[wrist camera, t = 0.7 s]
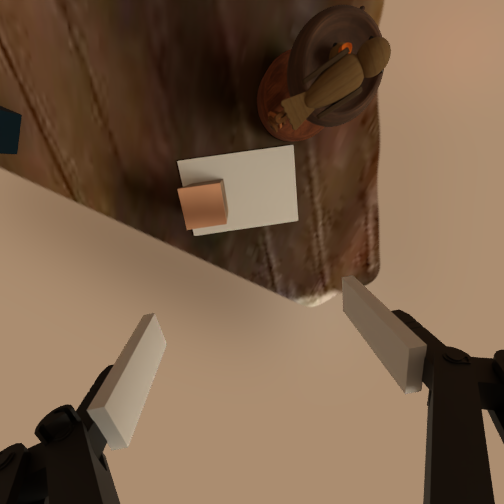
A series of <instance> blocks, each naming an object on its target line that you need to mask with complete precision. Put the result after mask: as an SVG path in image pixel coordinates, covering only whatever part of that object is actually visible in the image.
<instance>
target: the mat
mask: <svg viewBox="0 0 504 504" xmlns="http://www.w3.org/2000/svg"><path fill="white" fill-rule="evenodd" d="M177 163H178V168H179V172H180V176H181V181H182V185H183V187H184V186H186V185H189V184H191V183H198V182H205V181H212V180H219V179H223V180H224V186H225V192H226V198H227V204H228V210H229V211H228V218H227V224H224V225H217V226H210V227H204V228H197V229H193V233H194V236H197V235H204V234H211V233H218V232H225V231H231V230H238V229H245V228H252V227H259V226H265V225H272V224H279V223H286V222H293V221H298V210H297V194H296V179H295V163H294V147H293V145H288V146H281V147H274V148H267V149H259V150H252V151H245V152H238V153H231V154H224V155H217V156H209V157H202V158H195V159H188V160H181V161H177Z"/></svg>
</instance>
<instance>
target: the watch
mask: <svg viewBox="0 0 504 504" xmlns="http://www.w3.org/2000/svg"><path fill="white" fill-rule="evenodd" d="M21 116H22V115H20V114H18V113H16V112H13V111H11V110H9V109H6V108H4V107H2V106H0V153H4V154H17V150H18V141H19V133H20V124H21Z"/></svg>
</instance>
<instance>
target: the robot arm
mask: <svg viewBox="0 0 504 504" xmlns="http://www.w3.org/2000/svg"><path fill="white" fill-rule="evenodd" d="M342 292H343V311H344V312H345V314H346V315H347V316H348V318H349V319H350V320H351V322H352V323H353V324H354V326H355V327H356V328H357V330H358V331H359V332H360V334H361V335H362V336H363V338H364V339H365V340H366V341H367V343H368V345H369V346H370V347H371V349H372V350H373V351H374V353H375V354H376V355H377V357H378V358H379V359H380V361H381V362H382V363H383V365H384V366H385V367H386V369H387V370H388V371H389V373H390V374H391V376H392V377H393V378H394V379H395V381H396V382H397V384H398V385H399V386H400V388H401V389H402V390H403V392H404V393H405V394H407V393H412V392H418V391H421V389H422V381H423V382H424V384H425V385H426V386H427V387H428V388H429V395H428V402H427V406H428V418H427V419H428V420H427V439H426V440H427V441H426V461H425V481H424V482H425V483H424V502H423V504H495V502H494V495H493V488H492V481H491V474H490V468H489V459H488V452H487V445H486V438H485V431H484V424H483V417H482V410H481V409H486V410H488V412H489V414H490V417H491V418H492V421H493V423H494V425H495V427H496V429H497V431H498V433H499V435H500V437H501V439H502V441H503V443H504V350H499V351H496V353H495V354H494V358H493V359H492V358H478V357H470V356H469V355H468V354H467V353H465V352H463V351H462V350H459V349H456V348H454V347H447V346H445V345H444V344H443V343H442V342H440V341H439V340H438V339H437V338H436V337H435V336H433V335H432V334H431V333H430V332H429V331H428V330H427V329H425V328H424V327H423V326H422V325H421V324H420V323H418V322H417V321H416V320H415V319H414V318H413V317H412V316H410V315H409V314H407V313H405V312H403V311H401V310H394V311H390V310H389V309H388V308H387V307H386V306H385V305H384V304H383V303H382V302H380V300H378V299H377V298H376V297H375V296H374V295H373V294H372V293H371V292H370V291H369V290H368V289H367V288H366V287H365V286H364V285H362V284H361V283H360V282H359V281H358V280H357V279H356V278H355V277H354V276H347V277H342ZM166 345H167V343H166V341H165V338H164V336H163V333H162V331H161V328H160V325H159V323H158V320H157V318H156V315H155V313H153V314H147V315H144V316H143V317H142V319H141V321H140V322H139V324H138V326H137V328H136V329H135V331H134V332H133V334H132V336H131V337H130V339H129V341H128V342H127V344H126V346H125V347H124V349H123V351H122V352H121V354H120V356H119V357H118V359H117V361H116V362H115V364H114V365H110V366H108V367H106V369H105V370H104V371H102V372H101V374H100V375H99V376H98V378H97V379H96V381H95V383H94V385H92V387H91V389H90V391H89V392H88V393H87V395H86V396H85V398H84V400H83V401H82V403H81V405H80V406H79V407H78V409H77V410H76V411H75V410H74V408H73V407H72V406H71V405H63V406H60V407H58V408H56V409H54V410H53V411H51V412H50V413H49V414H47V415H46V416H45V417H44V418H43V419H42V420H41V421H40V423H39V424H38V426H37V427H36V429H35V435H36V436H37V437H38V438H39V440H40V441H41V443H39V444H37V445H35V446H33V447H30V448H28V449H27V448H26V447H25V446H24V445H23V444H22V443H16V444H14V445H11V446H9V447H7V448H6V449H4V450H3V451H1V452H0V504H120V502H119V498H118V496H117V492H116V489H115V486H114V483H113V479H112V476H111V473H110V470H109V467H108V463H107V460H106V457H105V455H104V454H103V450H104V448H105V445H106V443H108V445H109V447H110V448H111V450H116V449H121V448H127V447H128V446H129V444H130V441H131V438H132V436H133V433H134V430H135V427H136V425H137V422H138V420H139V417H140V414H141V412H142V409H143V406H144V404H145V401H146V398H147V396H148V393H149V390H150V388H151V385H152V382H153V380H154V377H155V374H156V372H157V369H158V367H159V364H160V361H161V359H162V356H163V353H164V351H165V348H166Z"/></svg>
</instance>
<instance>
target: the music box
mask: <svg viewBox="0 0 504 504" xmlns="http://www.w3.org/2000/svg"><path fill="white" fill-rule="evenodd" d="M364 9H365V7H364V6H361V7H360V8H357V7H354V6H350V5H337V6H333V7H329V8H327V9H325V10H323V11H321V12H319V13H318V14H317V15H315V16H314V17H313V18H312V19H310V20H309V21H308V23H307V24H306V25H305V26H304V27H303V28H302V30H301V31H300V33H299V34H298V36H297V38H296V40H295V42H294V44H293V47H292V49H291V50H288V51H286V52H284V53H282V54H281V55H279V56H278V57H277V58H276V59H275V60H274V61H273V62H272V64H271V65H270V66H269V68H268V70H267V71H266V73H265V74H264V76H263V78H262V80H261V82H260V85H259V89H258V94H257V109H258V114H259V117H260V120H261V122H262V124H263V126H264V127H265V128H266V130H267V131H268V132H269V133H270V134H271V135H272V136H274V137H275V138H277V139H279V140H282V141H288V142H293V141H300V140H305V139H308V138H311V137H312V136H314V135H316V134H317V133H318V132H320V131H321V130H322V129H323V128H324V127H332V126H338V125H341V124H344V123H346V122H348V121H350V120H352V119H353V118H355V117H356V116H358V115H359V114H360V113H361V112H362V111H363V110H364V109H365V108H366V107H367V106H368V104H369V103H370V102H371V100H372V99H373V97H374V95H375V94H376V92H377V89H378V87H379V85H380V82H381V79H382V75H383V70H384V68H385V67H386V65H387V63H388V61H389V58H390V53H391V49H390V45H389V43H388V41H387V40H386V39H385V38H383V37H382V35H381V33H380V30H379V28H378V26H377V24H376V23H375V21H374V20H373V19H372V18H371V17H370V16H369V15H368V14H367V13H366V12H365V11H364Z"/></svg>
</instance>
